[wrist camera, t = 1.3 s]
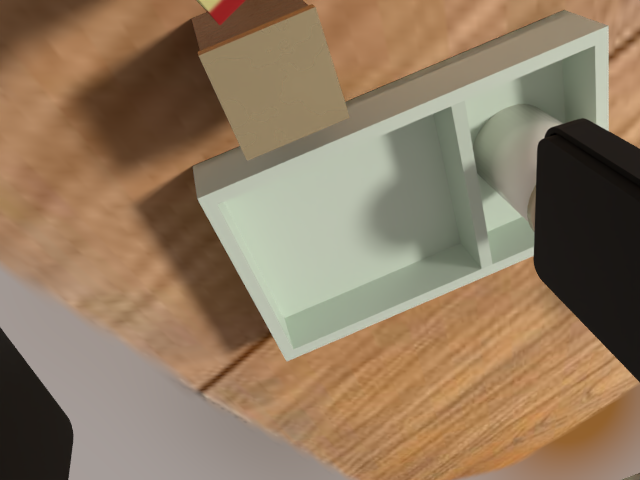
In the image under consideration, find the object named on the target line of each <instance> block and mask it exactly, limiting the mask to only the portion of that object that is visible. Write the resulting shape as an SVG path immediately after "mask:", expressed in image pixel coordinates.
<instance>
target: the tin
mask: <svg viewBox="0 0 640 480" xmlns="http://www.w3.org/2000/svg"><path fill="white" fill-rule="evenodd" d="M192 23H193V27H194V30H195V34H196V38H197V41H198V45H199V49H200V51H198V56H199V58H200V60H201V62H202V64H203V67H204V69H205V71H206V73H207V75H208V77H209V80H210V82H211V84H212V86H213V88H214V90H215V93H216V95H217V97H218V99H219V101H220V103H221V106H222V108H223V110H224V112H225V114H226V117H227V119H228V121H229V123H230V125H231V127H232V130H233V132H234V134H235V136H236V138H237V140H238V143H239V145H240V147H241V149H242V151H243V153H244V156H245V158H246V160H247V161H248V160H250V159H253V158H255V157H258V156H260V155H262V154H265V153H267V152H270V151H272V150H274V149H277V148H279V147H281V146H284V145H286V144H289V143H291V142H293V141H296V140H298V139H300V138H303V137H305V136H308V135H310V134H312V133H315V132H317V131H319V130H322V129H324V128H327V127H329V126H331V125H334V124H336V123H338V122H341V121H343V120H346V119H348V118H350V116H349V113H348V110H347V107H346V103H345V100H344V97H343V94H342V91H341V87H340V84H339V81H338V78H337V75H336V71H335V68H334V65H333V62H332V59H331V55H330V52H329V49H328V46H327V43H326V39H325V36H324V33H323V30H322V27H321V23H320V20H319V17H318V14H317V11H316V7H315V6H314V5H312V4H311V5H309V6H308V5H307V4H306V3H305V2H304V1H303V0H245V1H244V2H243V3H242V4H241V5H240V6H239V7H238V8H237V9H236V10H235V11H234V12H233V13H232V14H231V15H230V16H229V17H228V18H227V19H226V20H225V21H224V22H223V23H222V24H221V25H219V24H218V23H217V22H216V21H215V20H214V19H213V18H212V17H211V15H210V14H209V13H208V12H206V13H204V14H201V15H199V16H196V17H194V18H192Z"/></svg>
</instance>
